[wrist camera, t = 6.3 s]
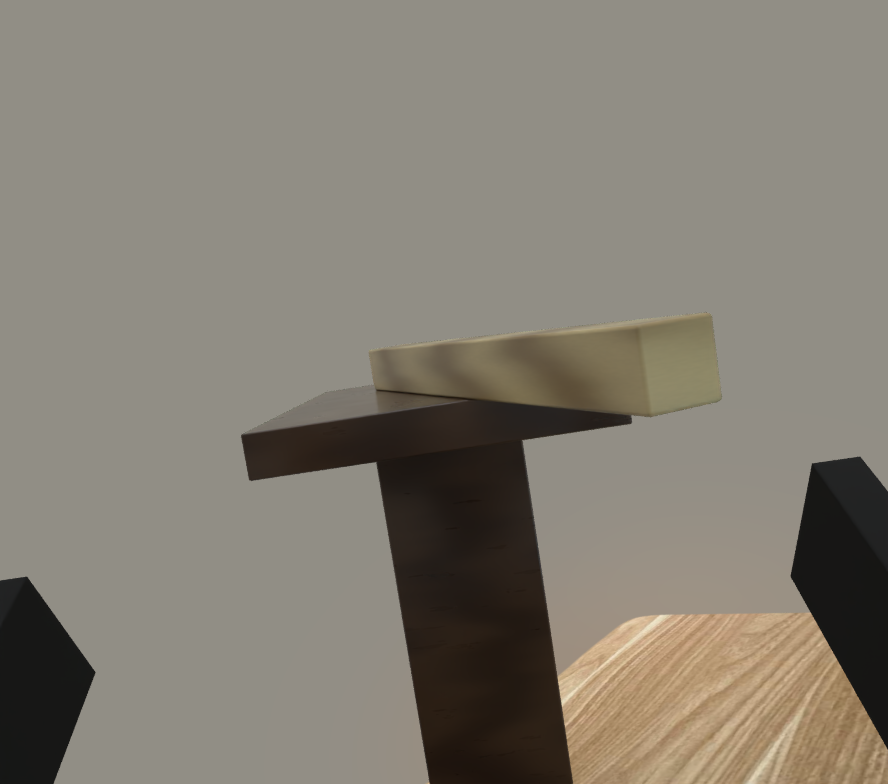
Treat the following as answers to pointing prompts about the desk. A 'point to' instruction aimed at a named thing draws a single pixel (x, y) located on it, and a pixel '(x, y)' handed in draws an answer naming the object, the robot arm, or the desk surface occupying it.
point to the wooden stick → (567, 366)
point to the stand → (453, 563)
